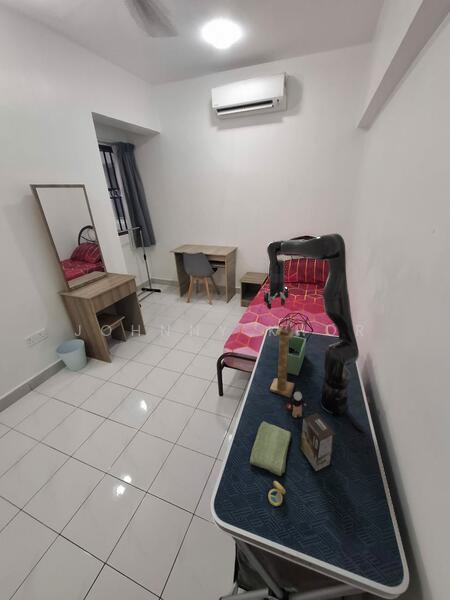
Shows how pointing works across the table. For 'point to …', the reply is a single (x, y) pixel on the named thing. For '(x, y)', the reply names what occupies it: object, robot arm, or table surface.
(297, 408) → the grandmother figurine
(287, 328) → the straw
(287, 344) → the straw stand
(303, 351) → the bin
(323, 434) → the coffee box
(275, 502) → the eyeshadow
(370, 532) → the table surface
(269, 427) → the washcloth
